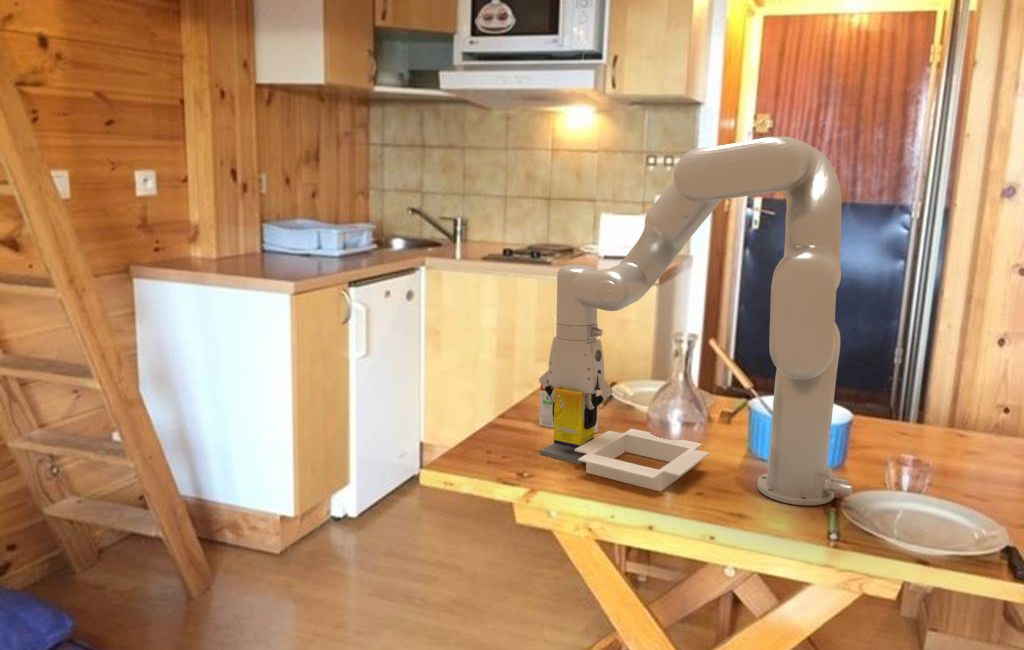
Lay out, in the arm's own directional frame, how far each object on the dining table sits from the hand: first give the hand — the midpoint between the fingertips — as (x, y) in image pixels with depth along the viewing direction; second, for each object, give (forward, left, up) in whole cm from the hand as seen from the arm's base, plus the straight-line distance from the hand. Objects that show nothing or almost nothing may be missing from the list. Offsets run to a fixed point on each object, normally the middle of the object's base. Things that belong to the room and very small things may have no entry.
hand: (574, 423), depth 162 cm
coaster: (0, 0, -6) cm, 6 cm away
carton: (-14, 0, -6) cm, 16 cm away
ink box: (+13, -13, -6) cm, 20 cm away
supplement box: (0, 0, -4) cm, 4 cm away
